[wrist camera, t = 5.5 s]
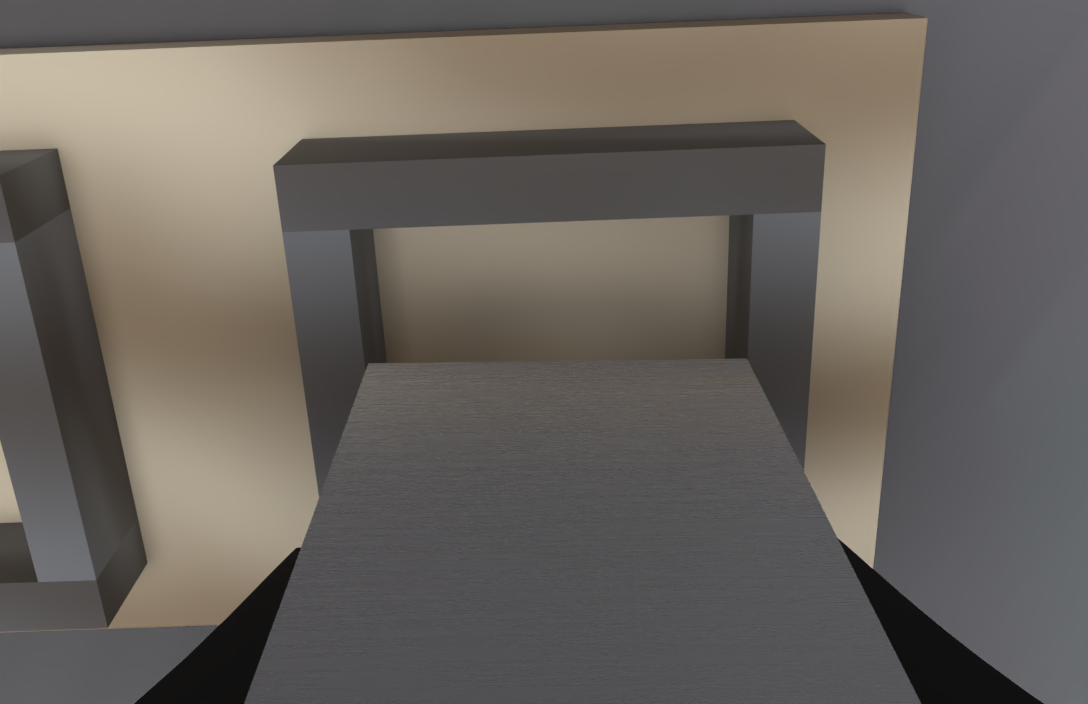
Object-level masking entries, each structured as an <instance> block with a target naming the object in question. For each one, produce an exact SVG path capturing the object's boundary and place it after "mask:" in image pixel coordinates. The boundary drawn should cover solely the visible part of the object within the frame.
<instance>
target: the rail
mask: <svg viewBox="0 0 1088 704" xmlns="http://www.w3.org/2000/svg"><path fill="white" fill-rule="evenodd" d="M927 20H928V18H926V17H922V16H918V15H914V14H910V13H889V14H864V15H839V16H814V17H789V18H764V19H739V20H713V21H688V22H663V23H638V24H613V25H588V26H563V27H537V28H512V29H487V30H462V31H437V32H412V33H387V34H362V35H336V36H311V37H286V38H261V39H236V40H211V41H186V42H160V43H135V44H110V45H85V46H60V47H35V48H10V49H0V632H25V631H54V630H84V629H113V628H142V627H171V626H201V625H220V624H221V623H222V622H223V621H224V620H225V619H226V618H227V617H228V616H229V615H230V614H231V613H232V612H233V611H234V610H235V609H236V608H237V607H238V606H239V605H240V604H241V603H242V602H243V601H244V600H245V599H246V598H247V597H248V596H249V595H250V594H251V593H252V592H253V591H254V590H255V589H256V588H257V587H258V586H259V585H260V584H261V582H262V581H263V580H264V579H265V578H266V577H267V576H268V575H269V574H270V573H271V572H272V571H273V570H274V569H275V568H276V567H277V566H278V565H279V564H280V563H281V562H282V561H283V560H284V559H285V558H286V557H287V556H288V555H289V554H290V553H291V552H292V551H294V550H295V549H296V548H300V547H301V546H302V544H303V541H304V538H305V535H306V533H307V530H308V527H309V525H310V522H311V519H312V516H313V514H314V511H315V508H316V505H317V503H318V500H319V497H320V494H321V492H322V489H323V486H324V483H325V481H326V478H327V475H328V472H329V470H330V467H331V464H332V461H333V459H334V456H335V453H336V450H337V448H338V445H339V442H340V440H341V437H342V434H343V431H344V429H345V426H346V423H347V420H348V418H349V415H350V412H351V409H352V407H353V404H354V401H355V398H356V396H357V393H358V390H359V387H360V385H361V382H362V379H363V376H364V374H365V371H366V368H367V366H368V363H435V362H514V361H593V360H672V359H747V360H748V362H749V364H750V366H751V368H752V370H753V372H754V374H755V376H756V377H757V379H758V381H759V383H760V385H761V387H762V389H763V391H764V393H765V395H766V397H767V399H768V401H769V403H770V405H771V407H772V409H773V411H774V413H775V415H776V417H777V419H778V421H779V423H780V425H781V427H782V429H783V431H784V433H785V435H786V437H787V439H788V441H789V443H790V445H791V447H792V449H793V451H794V453H795V455H796V457H797V459H798V461H799V463H800V465H801V467H802V469H803V471H804V473H805V474H806V476H807V478H808V480H809V482H810V484H811V486H812V488H813V490H814V492H815V494H816V496H817V498H818V500H819V502H820V504H821V506H822V508H823V510H824V512H825V514H826V516H827V518H828V520H829V522H830V524H831V526H832V528H833V530H834V532H835V534H836V536H837V538H839V539H840V540H841V541H842V542H843V543H844V544H845V545H847V546H848V547H849V548H850V549H851V550H852V551H853V552H854V553H856V554H857V555H858V556H859V557H860V558H861V559H862V560H863V561H865V562H866V563H867V564H868V565H869V566H870V567H871V568H872V569H873V564H874V554H875V544H876V534H877V524H878V514H879V504H880V493H881V483H882V473H883V463H884V453H885V443H886V433H887V423H888V413H889V403H890V393H891V383H892V373H893V362H894V352H895V342H896V332H897V322H898V312H899V302H900V292H901V282H902V272H903V262H904V252H905V242H906V231H907V221H908V211H909V201H910V191H911V181H912V171H913V161H914V151H915V141H916V131H917V121H918V110H919V100H920V90H921V80H922V70H923V60H924V50H925V40H926V30H927Z"/></svg>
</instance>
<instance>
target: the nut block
mask: <svg viewBox="0 0 1088 704" xmlns="http://www.w3.org/2000/svg"><path fill="white" fill-rule="evenodd" d="M244 704H921V702H920V700H919V698H918V696H917V694H916V692H915V690H914V688H913V686H912V684H911V682H910V680H909V678H908V676H907V674H906V672H905V670H904V669H903V667H902V665H901V663H900V661H899V659H898V657H897V655H896V653H895V651H894V649H893V647H892V645H891V643H890V641H889V639H888V637H887V635H886V633H885V631H884V629H883V627H882V625H881V623H880V621H879V619H878V617H877V615H876V613H875V611H874V609H873V607H872V605H871V603H870V601H869V599H868V597H867V595H866V593H865V591H864V589H863V587H862V585H861V583H860V581H859V579H858V577H857V575H856V573H855V571H854V570H853V568H852V566H851V564H850V562H849V560H848V558H847V556H846V554H845V552H844V550H843V548H842V546H841V544H840V542H839V540H838V538H837V536H836V534H835V532H834V530H833V528H832V526H831V524H830V522H829V520H828V518H827V516H826V514H825V512H824V510H823V508H822V506H821V504H820V502H819V500H818V498H817V496H816V494H815V492H814V490H813V488H812V486H811V484H810V482H809V480H808V478H807V476H806V474H805V473H804V471H803V469H802V467H801V465H800V463H799V461H798V459H797V457H796V455H795V453H794V451H793V449H792V447H791V445H790V443H789V441H788V439H787V437H786V435H785V433H784V431H783V429H782V427H781V425H780V423H779V421H778V419H777V417H776V415H775V413H774V411H773V409H772V407H771V405H770V403H769V401H768V399H767V397H766V395H765V393H764V391H763V389H762V387H761V385H760V383H759V381H758V379H757V377H756V376H755V374H754V372H753V370H752V368H751V366H750V364H749V362H748V360H747V359H672V360H593V361H514V362H435V363H368V366H367V368H366V371H365V374H364V376H363V379H362V382H361V385H360V387H359V390H358V393H357V396H356V398H355V401H354V404H353V407H352V409H351V412H350V415H349V418H348V420H347V423H346V426H345V429H344V431H343V434H342V437H341V440H340V442H339V445H338V448H337V450H336V453H335V456H334V459H333V461H332V464H331V467H330V470H329V472H328V475H327V478H326V481H325V483H324V486H323V489H322V492H321V494H320V497H319V500H318V503H317V505H316V508H315V511H314V514H313V516H312V519H311V522H310V525H309V527H308V530H307V533H306V535H305V538H304V541H303V544H302V546H301V549H300V552H299V555H298V557H297V560H296V563H295V566H294V568H293V571H292V574H291V577H290V579H289V582H288V585H287V588H286V590H285V593H284V596H283V599H282V601H281V604H280V607H279V610H278V612H277V615H276V618H275V620H274V623H273V626H272V629H271V631H270V634H269V637H268V640H267V642H266V645H265V648H264V651H263V653H262V656H261V659H260V662H259V664H258V667H257V670H256V673H255V675H254V678H253V681H252V684H251V686H250V689H249V692H248V694H247V697H246V700H245V703H244Z"/></svg>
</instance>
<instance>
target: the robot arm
mask: <svg viewBox="0 0 1088 704" xmlns="http://www.w3.org/2000/svg"><path fill="white" fill-rule="evenodd" d="M838 540H839V542H840V544H841V546H842V548H843V550H844V552H845V554H846V556H847V558H848V560H849V562H850V564H851V566H852V568H853V570H854V571H855V573H856V575H857V577H858V579H859V581H860V583H861V585H862V587H863V589H864V591H865V593H866V595H867V597H868V599H869V601H870V603H871V605H872V607H873V609H874V611H875V613H876V615H877V617H878V619H879V621H880V623H881V625H882V627H883V629H884V631H885V633H886V635H887V637H888V639H889V641H890V643H891V645H892V647H893V649H894V651H895V653H896V655H897V657H898V659H899V661H900V663H901V665H902V667H903V669H904V670H905V672H906V674H907V676H908V678H909V680H910V682H911V684H912V686H913V688H914V690H915V692H916V694H917V696H918V698H919V700H920V702H921V704H1043V703H1042V702H1041V701H1039V700H1038V699H1036V698H1035V697H1033V696H1032V695H1030V694H1029V693H1027V692H1026V691H1025V690H1023V689H1022V688H1021V687H1019V686H1018V685H1016V684H1015V683H1014V682H1012V681H1011V680H1010V679H1008V678H1007V677H1005V676H1004V675H1003V674H1001V673H1000V672H999V671H997V670H996V669H995V668H993V667H992V666H990V665H989V664H988V663H986V662H985V661H984V660H982V659H981V658H980V657H978V656H977V655H976V654H974V653H973V652H972V651H971V650H969V649H968V648H967V647H965V646H964V645H963V644H962V643H960V642H959V641H958V640H956V639H955V638H954V637H953V636H951V635H950V634H949V633H948V632H946V631H945V630H944V629H943V628H941V627H940V626H939V625H938V624H937V623H935V622H934V621H933V620H932V619H931V618H929V617H928V616H927V615H926V614H924V613H923V612H922V611H921V610H920V609H918V608H917V607H916V606H915V605H914V604H913V603H911V602H910V601H909V600H908V599H907V598H906V597H904V596H903V595H902V594H901V593H900V592H899V591H897V590H896V589H895V588H894V587H893V586H892V585H891V584H889V583H888V582H887V581H886V580H885V579H884V578H883V577H881V576H880V575H879V574H878V573H877V572H876V571H875V570H874V569H872V568H871V567H870V566H869V565H868V564H867V563H866V562H865V561H863V560H862V559H861V558H860V557H859V556H858V555H857V554H856V553H854V552H853V551H852V550H851V549H850V548H849V547H848V546H847V545H845V544H844V543H843V542H842V541H841V540H840V539H839V538H838ZM300 549H301V547H300V548H296V549H295V550H294V551H292V552H291V553H290V554H289V555H288V556H287V557H286V558H285V559H284V560H283V561H282V562H281V563H280V564H279V565H278V566H277V567H276V568H275V569H274V570H273V571H272V572H271V573H270V574H269V575H268V576H267V577H266V578H265V579H264V580H263V581H262V582H261V584H260V585H259V586H258V587H257V588H256V589H255V590H254V591H253V592H252V593H251V594H250V595H249V596H248V597H247V598H246V599H245V600H244V601H243V602H242V603H241V604H240V605H239V606H238V607H237V608H236V609H235V610H234V611H233V612H232V613H231V614H230V615H229V616H228V617H227V618H226V619H225V620H224V621H223V622H222V623H221V624H220V625H219V626H218V627H217V628H216V629H215V630H214V631H213V632H212V633H211V634H210V635H209V636H208V637H207V638H206V639H205V640H204V641H203V642H202V643H201V644H200V645H199V646H198V647H197V648H196V649H195V650H193V651H192V652H191V653H190V654H189V655H188V656H187V657H186V658H185V659H184V660H183V661H182V662H181V663H180V664H179V665H177V666H176V667H175V668H174V669H173V670H172V671H171V672H169V673H168V674H167V675H166V676H165V677H164V678H163V679H162V680H160V681H159V682H158V683H157V684H156V685H155V686H154V687H153V688H151V689H150V690H149V691H148V692H147V693H146V694H145V695H144V696H142V697H141V698H140V699H139V700H138V701H137V702H136V703H135V704H244V703H245V700H246V697H247V694H248V692H249V689H250V686H251V684H252V681H253V678H254V675H255V673H256V670H257V667H258V664H259V662H260V659H261V656H262V653H263V651H264V648H265V645H266V642H267V640H268V637H269V634H270V631H271V629H272V626H273V623H274V620H275V618H276V615H277V612H278V610H279V607H280V604H281V601H282V599H283V596H284V593H285V590H286V588H287V585H288V582H289V579H290V577H291V574H292V571H293V568H294V566H295V563H296V560H297V557H298V555H299V552H300Z"/></svg>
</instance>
